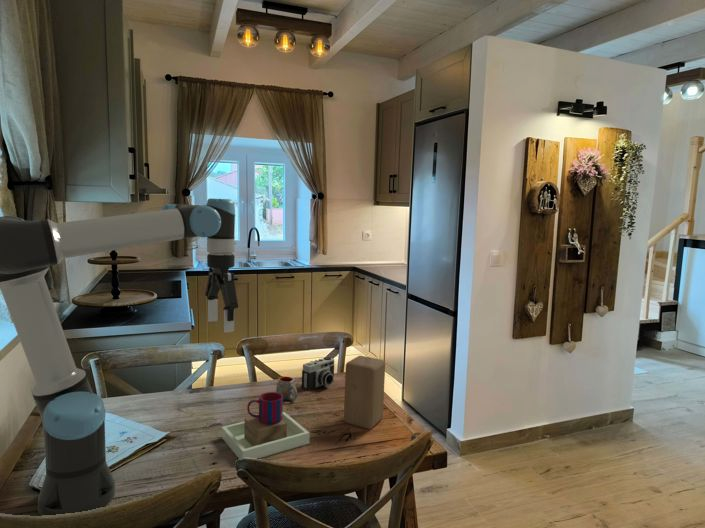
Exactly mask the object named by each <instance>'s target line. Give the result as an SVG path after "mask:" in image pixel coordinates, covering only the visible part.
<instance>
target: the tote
mask: <svg viewBox="0 0 705 528" xmlns="http://www.w3.org/2000/svg"><path fill="white" fill-rule="evenodd" d="M282 419H283V420H284V421H285V422H286V423H287V437H286V438H282V439H279V440H275V441H271V442H268V443H264V444H261V445H257V446H253V447H252V445H251V444H250V443H249V442H248V441H247V440H246V439H245V438H244V425H245V420H244V421H240V422H236V423H232V424H228V425H224V426H221V439H222V441H224V442H225V444H226V445H227V446H228V447H229V448H230V450H231V451H232V452H233V453H234V454H235V456H236V457H237V458H238V459H239V460H240V458H244V457H251V458H259V459H262V458H265V457H266V458H267V457H268V456H272V455H275V454H279V453H282V452H286V451H289V450H291V449H296V448H299V447H302V446H305V445H309V444H310V437H311V436H310V434H311V433H310V431H308V430H307V429H306V428H305V427H303V426H302V425H301V424H300V423H298V422H297V421H296V420H294V419H293V418H292V417H291V416H290V415H289V414H288V413H286V412H285V411H283V414H282Z"/></svg>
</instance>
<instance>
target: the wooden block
mask: <svg viewBox="0 0 705 528" xmlns="http://www.w3.org/2000/svg"><path fill="white" fill-rule="evenodd" d="M385 374H386V361H385V360H383V359H380V358H375V357H370V356H365V355H364V356H363V355H358V356H356V357H354V358H353V359H351V360H348V361H347V362H346V364H345V378H344V381H345V382H344V402H343V403H344V407H343V422H344V423H347V424H349V425H353V426H357V427H360V428H364V429H368V430H371V429H372V428H374V427H375V426H376V425H377V424H378V423H379V422H380V421H381V420H382V419H383V417H384V400H385V398H384V396H385V395H384V394H385V380H386V379H385V376H386V375H385Z"/></svg>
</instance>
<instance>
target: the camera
mask: <svg viewBox="0 0 705 528" xmlns="http://www.w3.org/2000/svg"><path fill="white" fill-rule="evenodd" d="M334 379H335V359H334V358H332V357H330V356H326V357H323V358H318V359H315V360H311V361H309V362H306V363H304V364H302V370H301V389H303V390H306V391H308V392H310V391H313V390H316V389H319V388H321V387H329V386H331V385H332V384H333V383H334V381H335V380H334ZM323 385H324V386H323ZM318 387H319V388H318ZM315 388H316V389H315Z"/></svg>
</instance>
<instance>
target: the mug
mask: <svg viewBox="0 0 705 528" xmlns="http://www.w3.org/2000/svg"><path fill="white" fill-rule="evenodd" d="M295 383H296V380H295V379H294V378H293V377H290V376H280V377H278V382H276V390H275V392H276V393H280V394H282V395H283V401H284V400H286V401H287V400H288V401H291V402H294V401H296V400H297V398H298V390H297V387H296V384H295Z"/></svg>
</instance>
